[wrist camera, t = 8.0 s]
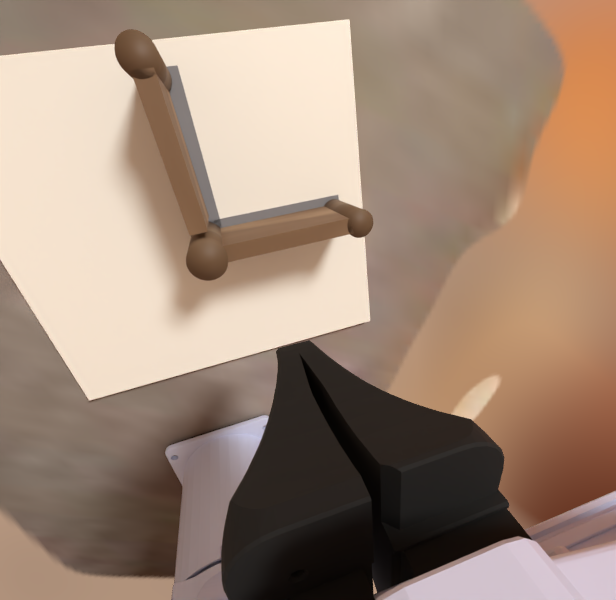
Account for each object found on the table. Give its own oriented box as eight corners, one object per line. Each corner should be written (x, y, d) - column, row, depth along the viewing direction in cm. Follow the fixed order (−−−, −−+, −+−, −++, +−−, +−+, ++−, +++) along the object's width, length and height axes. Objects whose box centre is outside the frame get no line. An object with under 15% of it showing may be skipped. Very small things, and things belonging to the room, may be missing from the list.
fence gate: (188, 220, 17) (182, 237, 14) (133, 62, 14) (106, 32, 11) (214, 214, 18) (214, 230, 14) (165, 57, 14) (150, 26, 11)
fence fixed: (345, 223, 20) (378, 240, 16) (197, 256, 18) (193, 284, 14) (342, 193, 19) (376, 204, 15) (187, 225, 17) (179, 246, 14)
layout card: (367, 317, 24) (370, 320, 24) (91, 395, 21) (89, 400, 20) (345, 22, 16) (349, 19, 16) (-109, 71, 13) (-121, 68, 12)
